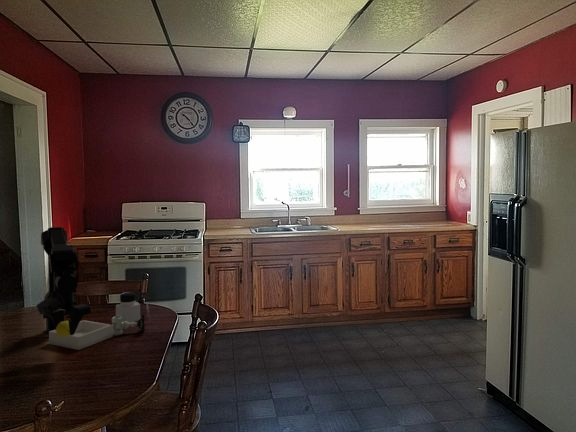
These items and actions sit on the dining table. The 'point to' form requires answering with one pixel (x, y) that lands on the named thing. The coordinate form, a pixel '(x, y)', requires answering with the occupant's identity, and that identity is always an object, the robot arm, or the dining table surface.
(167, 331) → the dining table surface
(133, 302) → the medicine bottle
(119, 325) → the valve
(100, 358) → the dining table surface
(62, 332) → the lemon
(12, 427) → the dining table surface
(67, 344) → the walled box
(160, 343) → the dining table surface
